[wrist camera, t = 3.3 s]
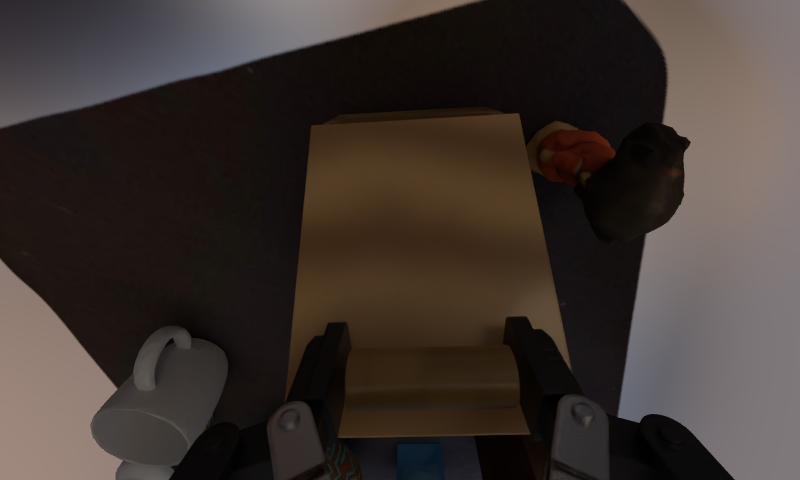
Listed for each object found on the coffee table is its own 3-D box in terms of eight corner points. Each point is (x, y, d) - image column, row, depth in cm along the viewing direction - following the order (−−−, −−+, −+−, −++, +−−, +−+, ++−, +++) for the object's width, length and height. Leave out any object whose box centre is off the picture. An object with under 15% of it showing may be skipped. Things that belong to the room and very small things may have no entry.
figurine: (516, 128, 27) (591, 162, 16) (587, 103, 26) (717, 121, 15) (530, 197, 29) (601, 266, 19) (594, 176, 28) (709, 237, 18)
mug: (243, 385, 41) (197, 471, 32) (171, 379, 41) (104, 464, 32) (230, 306, 35) (171, 383, 26) (147, 298, 35) (58, 373, 26)
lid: (576, 429, 13) (669, 466, 8) (288, 435, 13) (215, 473, 9) (515, 122, 19) (548, 37, 14) (314, 134, 19) (280, 55, 14)
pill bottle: (223, 424, 45) (167, 530, 34) (179, 428, 45) (111, 532, 35) (204, 392, 42) (137, 497, 31) (157, 396, 42) (76, 500, 32)
